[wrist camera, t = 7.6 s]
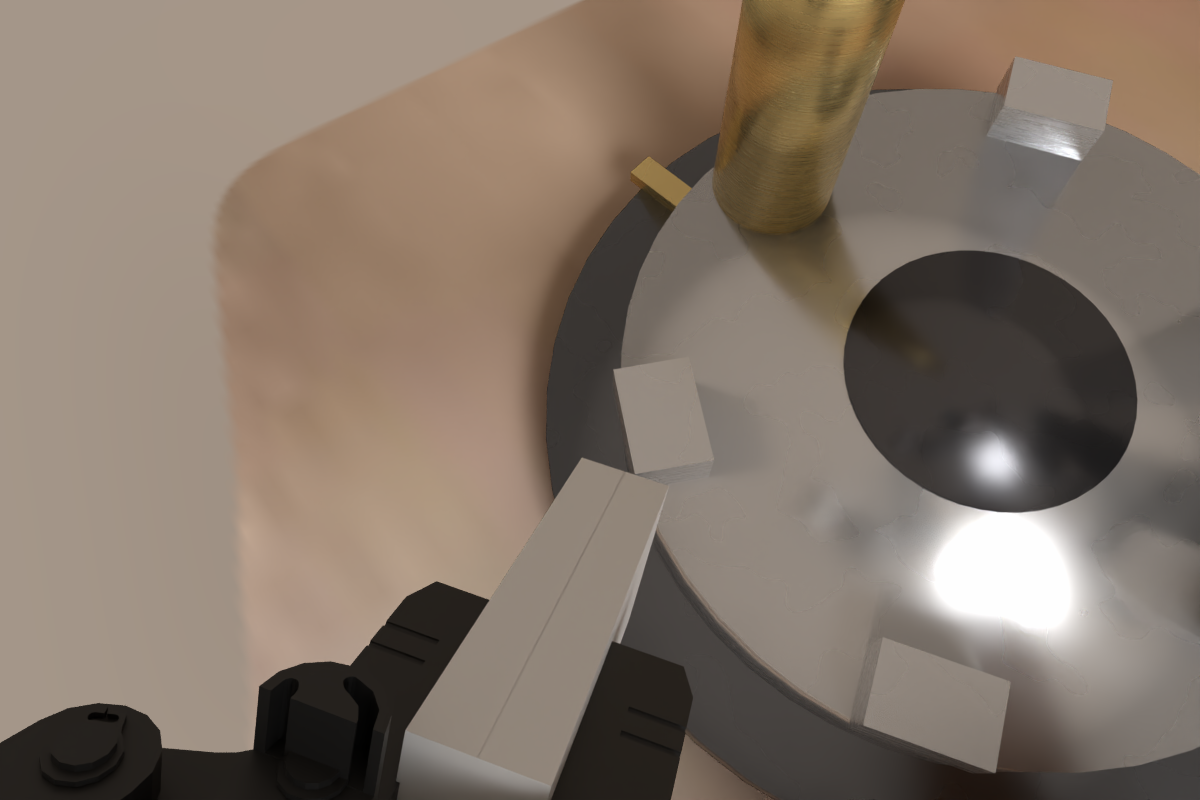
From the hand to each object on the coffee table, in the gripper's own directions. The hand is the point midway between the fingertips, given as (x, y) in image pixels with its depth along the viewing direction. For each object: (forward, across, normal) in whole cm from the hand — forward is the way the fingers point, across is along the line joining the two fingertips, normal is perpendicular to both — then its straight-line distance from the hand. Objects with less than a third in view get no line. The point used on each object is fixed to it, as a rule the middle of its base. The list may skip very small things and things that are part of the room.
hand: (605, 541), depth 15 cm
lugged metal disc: (+11, +7, +1) cm, 13 cm away
